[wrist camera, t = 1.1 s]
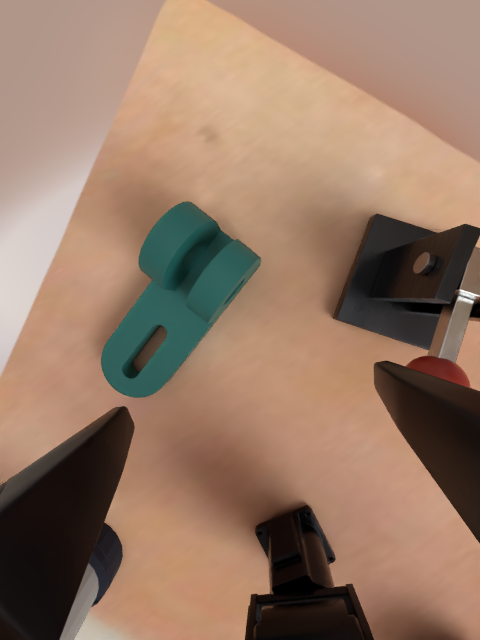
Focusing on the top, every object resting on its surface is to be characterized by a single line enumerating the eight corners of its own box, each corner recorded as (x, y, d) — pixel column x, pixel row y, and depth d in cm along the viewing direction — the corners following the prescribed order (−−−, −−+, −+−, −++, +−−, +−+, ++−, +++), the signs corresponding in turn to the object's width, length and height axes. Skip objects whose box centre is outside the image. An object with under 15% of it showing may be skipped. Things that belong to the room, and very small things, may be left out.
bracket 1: (205, 221, 25) (182, 186, 17) (260, 265, 25) (261, 250, 17) (102, 361, 27) (37, 389, 19) (152, 401, 27) (109, 445, 19)
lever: (431, 409, 17) (477, 429, 14) (384, 393, 17) (417, 408, 14) (474, 271, 18) (529, 257, 14) (427, 256, 18) (470, 239, 14)
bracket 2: (421, 348, 24) (532, 382, 15) (332, 318, 25) (382, 333, 15) (464, 247, 23) (614, 211, 14) (370, 217, 24) (450, 161, 14)
